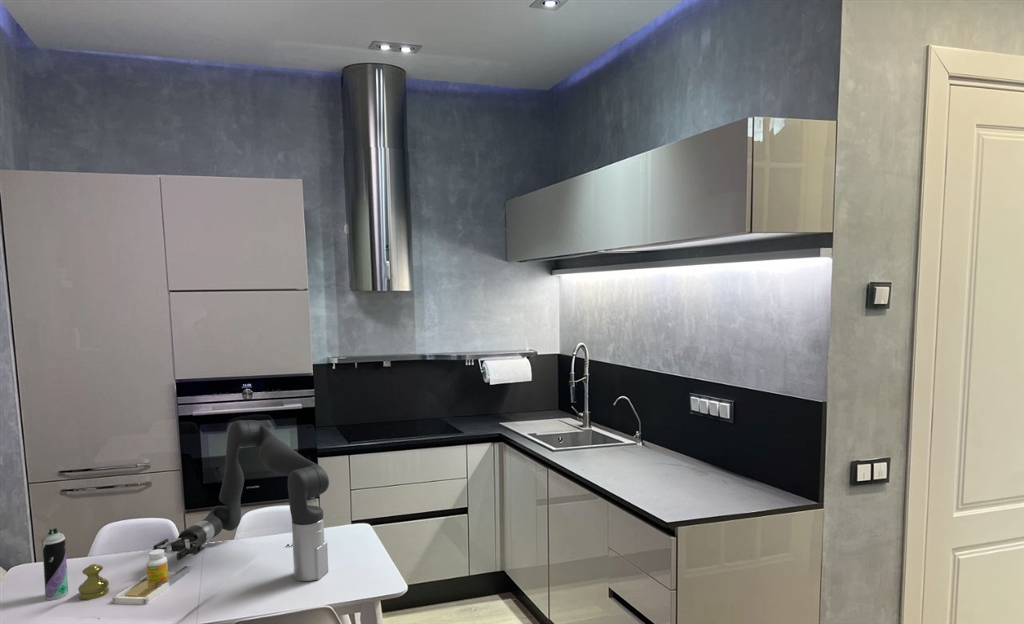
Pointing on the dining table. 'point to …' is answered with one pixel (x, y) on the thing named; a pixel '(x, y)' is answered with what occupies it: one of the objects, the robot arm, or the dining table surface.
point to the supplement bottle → (157, 567)
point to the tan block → (137, 592)
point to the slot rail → (171, 576)
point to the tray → (138, 600)
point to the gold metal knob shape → (93, 584)
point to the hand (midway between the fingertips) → (164, 556)
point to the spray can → (55, 565)
